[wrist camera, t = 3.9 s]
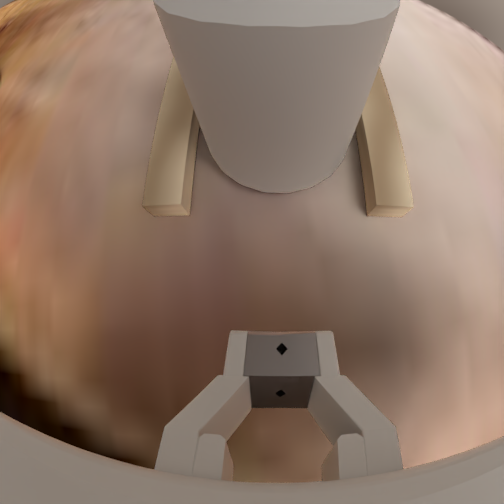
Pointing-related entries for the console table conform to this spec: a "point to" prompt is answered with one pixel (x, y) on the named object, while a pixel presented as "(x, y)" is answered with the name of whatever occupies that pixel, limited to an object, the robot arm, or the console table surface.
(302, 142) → the can
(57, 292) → the console table surface
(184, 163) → the slot rails
